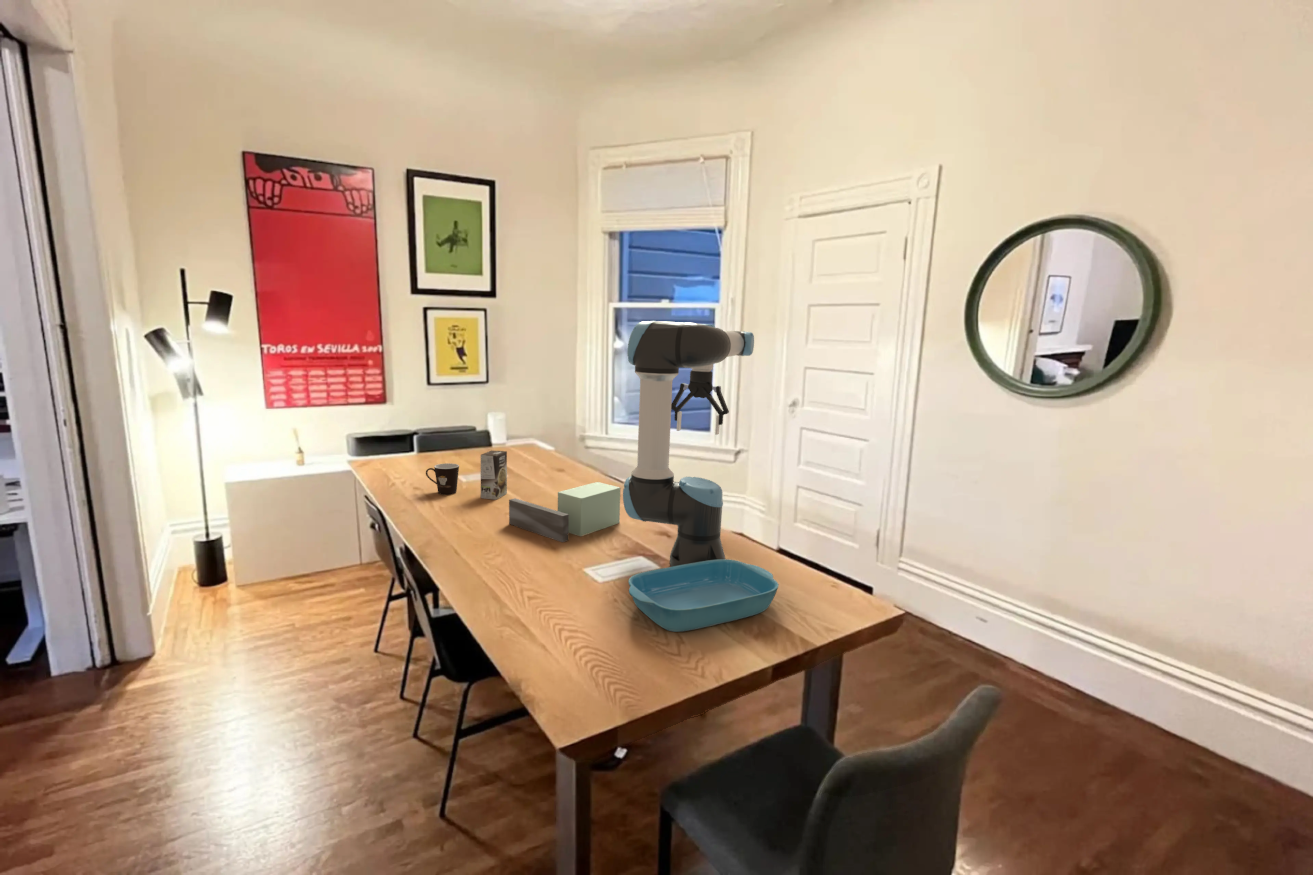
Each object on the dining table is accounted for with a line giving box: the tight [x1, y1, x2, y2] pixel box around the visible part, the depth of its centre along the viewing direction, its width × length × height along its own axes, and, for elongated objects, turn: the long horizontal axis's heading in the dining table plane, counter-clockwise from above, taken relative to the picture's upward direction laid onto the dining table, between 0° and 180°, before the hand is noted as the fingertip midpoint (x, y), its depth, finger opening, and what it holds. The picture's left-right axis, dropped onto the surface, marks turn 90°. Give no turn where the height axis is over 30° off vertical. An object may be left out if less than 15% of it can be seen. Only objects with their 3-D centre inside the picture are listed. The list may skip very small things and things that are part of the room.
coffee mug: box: [425, 463, 460, 496], centre depth 233 cm, size 12×9×10 cm
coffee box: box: [480, 449, 508, 501], centre depth 229 cm, size 9×6×16 cm
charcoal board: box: [508, 497, 570, 543], centre depth 193 cm, size 2×24×8 cm, turn 52°
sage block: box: [557, 481, 622, 537], centre depth 201 cm, size 18×10×12 cm, turn 143°
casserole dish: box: [627, 558, 780, 633], centre depth 146 cm, size 37×22×7 cm, turn 121°
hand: (697, 432), depth 218 cm, fingers open, 13 cm apart
